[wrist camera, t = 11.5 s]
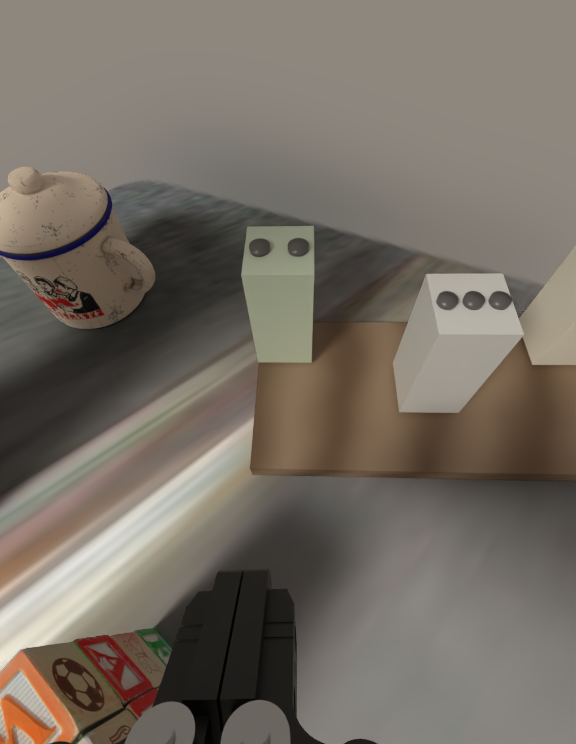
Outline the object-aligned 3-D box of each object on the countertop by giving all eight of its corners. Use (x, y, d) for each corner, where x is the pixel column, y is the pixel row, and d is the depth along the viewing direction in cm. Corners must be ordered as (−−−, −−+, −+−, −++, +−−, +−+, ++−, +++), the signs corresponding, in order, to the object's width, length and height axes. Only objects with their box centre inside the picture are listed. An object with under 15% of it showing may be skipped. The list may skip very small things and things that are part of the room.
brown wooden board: (252, 474, 26) (250, 468, 25) (263, 333, 32) (262, 322, 31) (616, 481, 25) (633, 475, 24) (556, 334, 31) (567, 322, 30)
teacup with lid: (29, 317, 34) (-85, 201, 24) (90, 250, 38) (14, 127, 28) (143, 355, 32) (69, 242, 22) (195, 278, 36) (153, 155, 26)
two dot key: (258, 362, 29) (240, 271, 21) (261, 320, 31) (246, 222, 23) (311, 362, 28) (314, 270, 20) (311, 320, 30) (314, 221, 22)
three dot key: (399, 412, 26) (440, 330, 18) (392, 362, 28) (427, 269, 20) (458, 412, 26) (527, 330, 18) (447, 363, 28) (505, 269, 20)
